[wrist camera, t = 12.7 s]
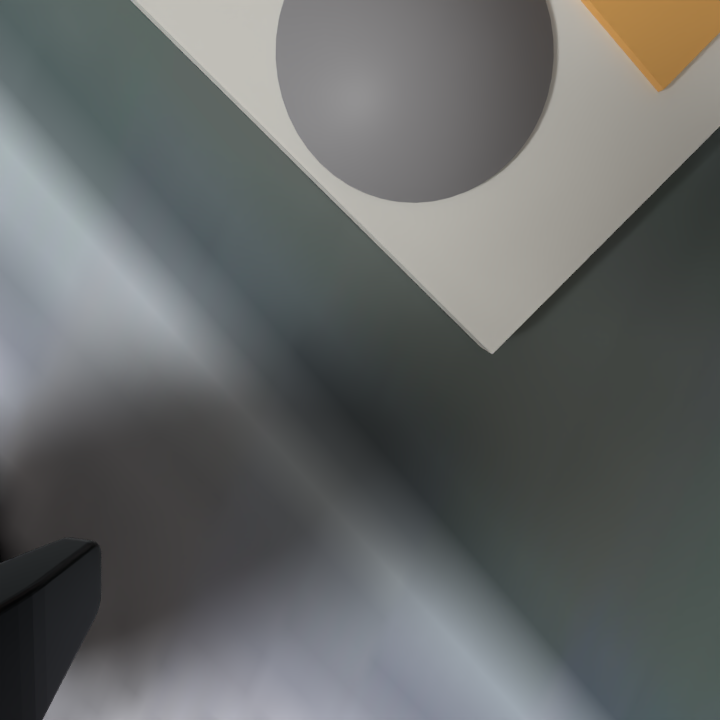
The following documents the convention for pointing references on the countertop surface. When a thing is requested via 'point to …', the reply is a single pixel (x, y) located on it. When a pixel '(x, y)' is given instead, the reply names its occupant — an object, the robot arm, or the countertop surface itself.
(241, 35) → the white plate with inlay
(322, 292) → the countertop surface
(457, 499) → the countertop surface
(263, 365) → the countertop surface
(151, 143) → the countertop surface
